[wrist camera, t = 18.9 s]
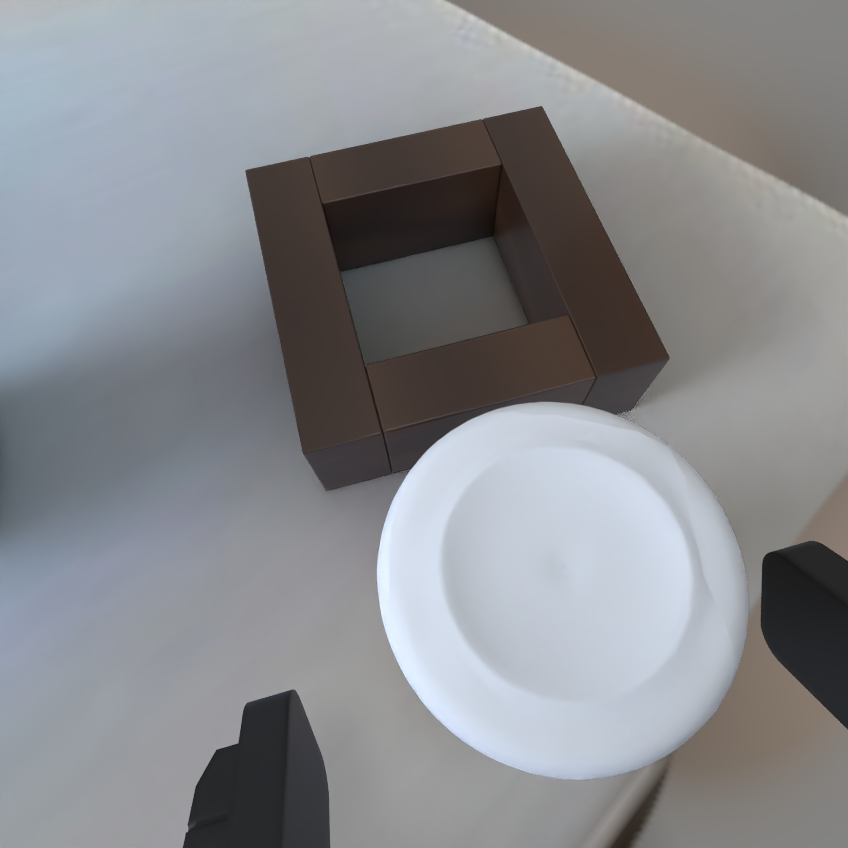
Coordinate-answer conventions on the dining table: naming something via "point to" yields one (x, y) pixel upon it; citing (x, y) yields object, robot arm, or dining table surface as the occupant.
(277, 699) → the robot arm
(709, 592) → the sprinkles bottle
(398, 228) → the bottle rack
